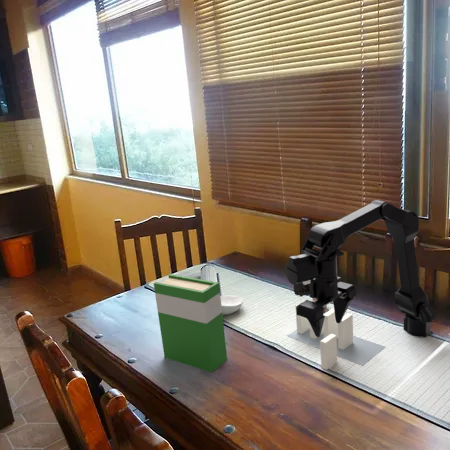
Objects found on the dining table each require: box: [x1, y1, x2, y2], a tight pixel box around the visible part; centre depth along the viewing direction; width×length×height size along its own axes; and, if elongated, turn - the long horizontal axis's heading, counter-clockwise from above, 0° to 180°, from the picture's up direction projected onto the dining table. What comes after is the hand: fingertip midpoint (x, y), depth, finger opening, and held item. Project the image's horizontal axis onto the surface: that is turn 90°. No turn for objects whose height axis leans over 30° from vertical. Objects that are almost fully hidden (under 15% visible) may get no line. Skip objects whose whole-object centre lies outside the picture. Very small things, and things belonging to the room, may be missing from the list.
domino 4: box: [320, 334, 338, 371], centre depth 124 cm, size 2×5×9 cm, turn 133°
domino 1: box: [295, 300, 310, 334], centre depth 143 cm, size 2×5×9 cm, turn 133°
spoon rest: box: [220, 295, 244, 316], centre depth 160 cm, size 24×12×7 cm, turn 140°
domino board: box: [286, 329, 386, 367], centre depth 137 cm, size 26×12×1 cm, turn 43°
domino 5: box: [338, 312, 354, 350], centre depth 132 cm, size 2×5×9 cm, turn 133°
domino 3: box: [323, 308, 338, 338], centre depth 136 cm, size 2×5×9 cm, turn 133°
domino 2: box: [310, 325, 324, 339], centre depth 140 cm, size 2×5×9 cm, turn 133°
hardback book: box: [153, 273, 228, 374], centre depth 133 cm, size 18×7×24 cm, turn 56°
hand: (328, 329), depth 122 cm, fingers open, 9 cm apart
